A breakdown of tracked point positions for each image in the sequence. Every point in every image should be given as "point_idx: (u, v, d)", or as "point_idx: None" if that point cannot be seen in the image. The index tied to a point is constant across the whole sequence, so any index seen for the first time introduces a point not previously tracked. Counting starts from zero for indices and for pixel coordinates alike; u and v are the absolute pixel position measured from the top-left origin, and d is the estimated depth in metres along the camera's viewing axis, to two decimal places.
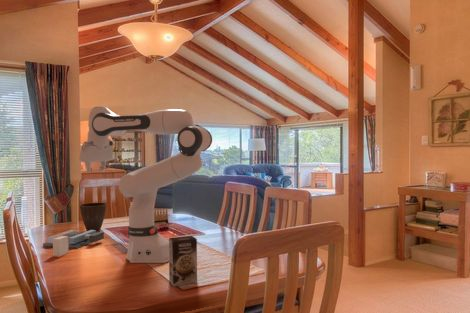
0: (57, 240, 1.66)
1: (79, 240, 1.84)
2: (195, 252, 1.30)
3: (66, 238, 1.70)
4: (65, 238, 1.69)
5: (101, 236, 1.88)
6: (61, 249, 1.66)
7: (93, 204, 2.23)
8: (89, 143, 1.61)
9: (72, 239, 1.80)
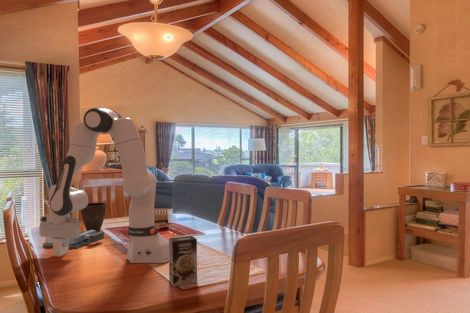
0: (57, 240, 1.66)
1: (79, 240, 1.84)
2: (195, 252, 1.30)
3: None
4: None
5: (101, 236, 1.88)
6: (61, 249, 1.66)
7: (93, 204, 2.23)
8: None
9: (72, 239, 1.80)
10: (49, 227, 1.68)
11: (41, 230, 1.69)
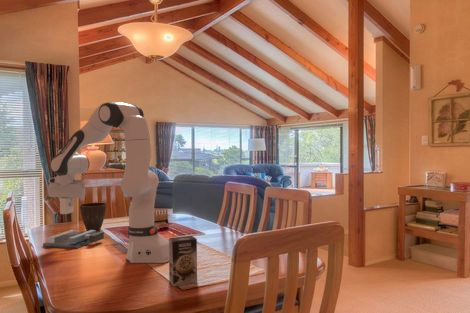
0: (64, 199, 1.83)
1: (79, 240, 1.84)
2: (195, 252, 1.30)
3: None
4: None
5: (101, 236, 1.88)
6: (67, 208, 1.84)
7: (93, 204, 2.23)
8: None
9: (72, 239, 1.80)
10: (57, 188, 1.86)
11: (50, 191, 1.87)
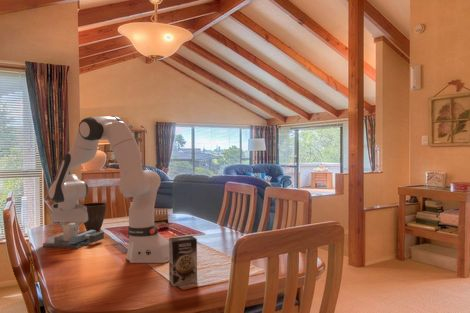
0: (67, 226, 1.87)
1: (79, 240, 1.84)
2: (195, 252, 1.30)
3: (75, 225, 1.92)
4: (74, 225, 1.91)
5: (101, 236, 1.88)
6: (70, 235, 1.88)
7: (93, 204, 2.23)
8: None
9: (72, 239, 1.80)
10: (60, 213, 1.90)
11: (53, 216, 1.91)
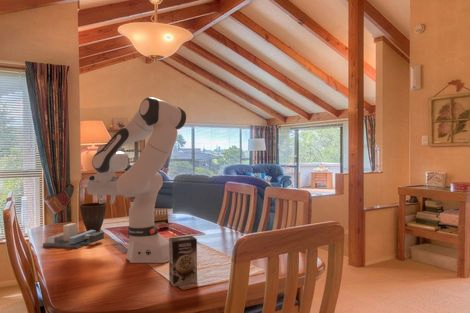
0: (67, 226, 1.87)
1: (79, 240, 1.84)
2: (195, 252, 1.30)
3: (75, 225, 1.92)
4: (74, 225, 1.91)
5: (101, 236, 1.88)
6: (70, 235, 1.88)
7: (93, 204, 2.23)
8: None
9: (72, 239, 1.80)
10: (96, 185, 1.84)
11: (89, 188, 1.85)
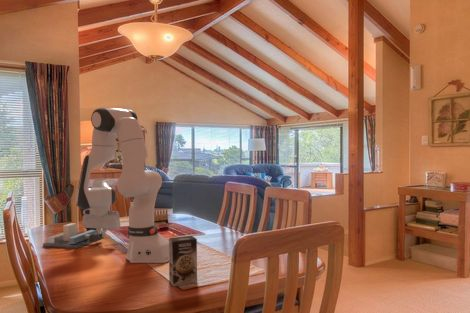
0: (67, 226, 1.87)
1: (79, 240, 1.84)
2: (195, 252, 1.30)
3: (75, 225, 1.92)
4: (74, 225, 1.91)
5: None
6: (70, 235, 1.88)
7: None
8: None
9: (72, 239, 1.80)
10: (91, 219, 1.86)
11: (84, 222, 1.86)
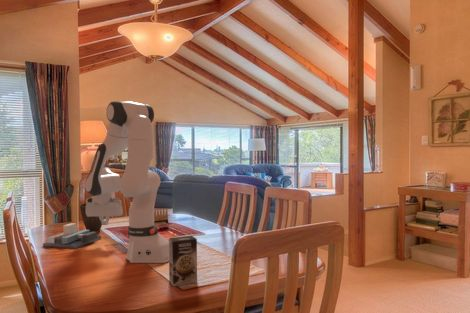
0: (67, 226, 1.87)
1: (72, 239, 1.85)
2: (195, 252, 1.30)
3: (75, 225, 1.92)
4: (74, 225, 1.91)
5: (94, 236, 1.89)
6: None
7: None
8: None
9: (65, 239, 1.81)
10: (94, 207, 1.88)
11: (87, 210, 1.89)
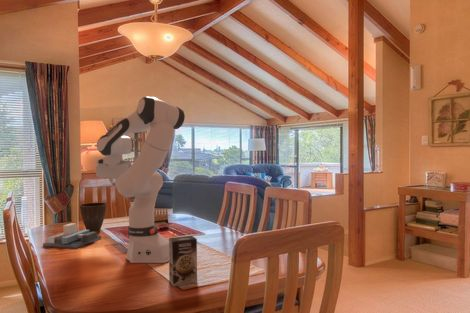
0: (67, 226, 1.87)
1: (72, 239, 1.85)
2: (195, 252, 1.30)
3: (75, 225, 1.92)
4: (74, 225, 1.91)
5: (94, 236, 1.89)
6: None
7: (93, 204, 2.23)
8: None
9: (65, 239, 1.81)
10: (105, 169, 1.94)
11: (98, 171, 1.95)
